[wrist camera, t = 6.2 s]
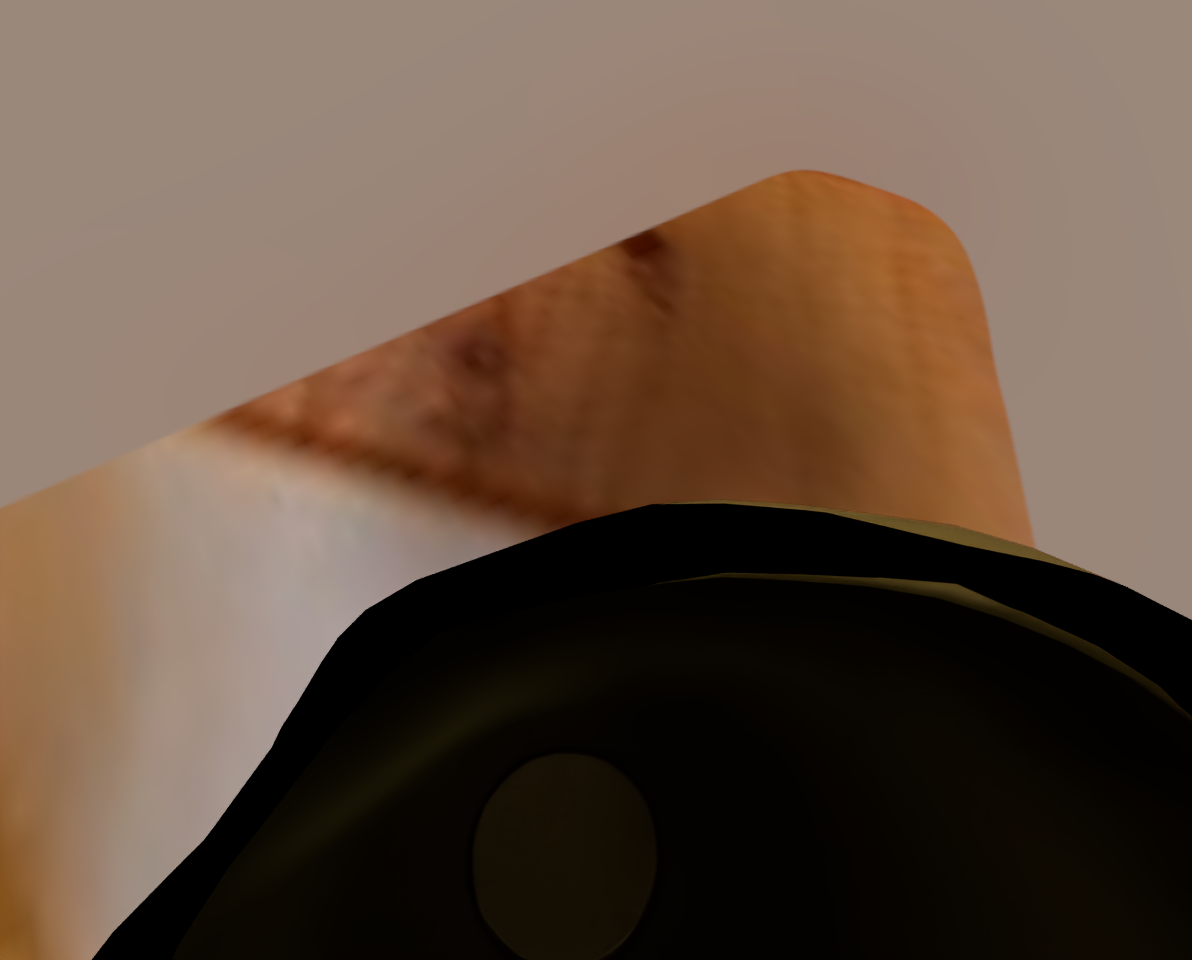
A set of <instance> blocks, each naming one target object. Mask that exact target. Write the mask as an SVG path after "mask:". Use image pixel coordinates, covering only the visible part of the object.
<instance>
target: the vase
mask: <svg viewBox="0 0 1192 960" xmlns="http://www.w3.org/2000/svg"><path fill="white" fill-rule="evenodd" d="M92 960H1192V620H1191V619H1189V618H1187V617H1185V616H1183V615H1181V614H1179V613H1177V612H1175V611H1173V610H1171V609H1169V608H1167V607H1165V606H1163V605H1161V604H1159V603H1157V602H1155V601H1153V600H1151V599H1149V598H1147V597H1145V596H1143V595H1142V594H1140V593H1138V592H1136V591H1134V590H1132V589H1130V588H1128V587H1126V586H1123V585H1121V584H1118V583H1116V582H1114V581H1111V580H1108V579H1106V578H1104V577H1102V576H1099V575H1097V574H1094V573H1092V572H1090V571H1087V570H1085V569H1082V568H1080V567H1078V566H1075V565H1073V564H1070V563H1068V562H1066V561H1063V560H1061V559H1058V558H1056V557H1053V556H1051V555H1049V554H1046V553H1044V552H1041V551H1039V550H1037V549H1034V548H1032V547H1028V546H1025V545H1021V544H1018V543H1015V542H1011V541H1008V540H1004V539H1001V538H998V537H994V536H991V535H987V534H984V533H980V532H977V531H974V530H970V529H967V528H963V527H960V526H956V525H951V524H943V523H936V522H929V521H922V520H914V519H907V518H900V517H893V516H885V515H878V514H870V513H862V512H854V511H846V510H838V509H830V508H823V507H815V506H807V505H799V504H785V503H769V502H753V501H737V500H707V501H692V502H678V503H664V504H651V505H647V506H643V507H639V508H635V509H631V510H627V511H623V512H619V513H615V514H611V515H607V516H603V517H599V518H595V519H591V520H587V521H583V522H579V523H575V524H572V525H569V526H567V527H564V528H561V529H558V530H555V531H553V532H550V533H547V534H544V535H542V536H539V537H536V538H533V539H530V540H527V541H525V542H522V543H519V544H516V545H513V546H510V547H508V548H505V549H502V550H499V551H496V552H493V553H491V554H488V555H485V556H482V557H480V558H477V559H474V560H471V561H468V562H466V563H463V564H460V565H457V566H454V567H452V568H449V569H446V570H443V571H440V572H438V573H435V574H432V575H429V576H426V577H424V578H421V579H418V580H416V581H414V582H412V583H411V584H409V585H407V586H406V587H404V588H402V589H400V590H399V591H397V592H395V593H394V594H392V595H390V596H389V597H387V598H385V599H383V600H382V601H380V602H378V603H377V604H375V605H373V606H371V607H370V608H368V609H366V610H365V611H364V612H363V613H362V614H361V615H360V616H359V617H358V618H357V619H356V620H355V621H354V622H353V623H352V624H351V625H350V626H349V627H348V628H347V629H346V630H345V631H344V632H343V633H342V634H341V635H340V636H339V637H338V638H337V640H336V641H335V643H334V644H333V646H332V647H331V649H330V650H329V652H328V653H327V655H326V656H325V658H324V659H323V661H322V662H321V664H320V665H319V667H318V669H317V670H316V672H315V674H314V676H313V677H312V679H311V681H310V682H309V684H308V686H307V687H306V689H305V691H304V692H303V694H302V696H301V697H300V699H299V701H298V702H297V704H296V705H295V707H294V708H293V710H292V712H291V713H290V715H289V716H288V718H287V719H286V721H285V722H284V724H283V726H282V727H281V729H280V731H279V733H278V735H277V738H276V740H275V742H274V744H273V746H272V748H271V749H270V750H269V752H268V753H267V755H266V756H265V757H264V759H263V760H262V761H261V763H260V764H259V766H258V767H257V768H256V770H255V771H254V772H253V774H252V775H251V777H250V778H249V779H248V781H247V782H246V783H245V785H244V786H243V788H242V789H241V790H240V792H239V793H238V794H237V796H236V797H235V799H234V800H233V801H232V803H231V804H230V805H229V807H228V808H227V810H226V811H225V812H224V814H223V815H222V816H221V818H220V819H219V821H218V822H217V823H216V825H215V826H214V827H213V829H212V830H211V831H210V833H209V834H208V835H207V837H206V838H205V839H204V841H203V842H202V843H201V844H200V845H199V846H197V847H196V848H195V849H194V850H193V851H192V852H191V853H190V854H189V855H188V856H187V857H186V858H185V859H184V860H183V861H182V862H181V863H180V864H179V865H178V866H177V867H176V868H175V869H174V870H173V871H172V872H171V873H170V874H169V875H168V876H167V878H166V879H165V880H164V881H163V882H162V883H161V884H160V885H159V886H158V887H157V888H156V889H155V890H154V891H153V892H152V893H151V894H150V895H149V896H148V897H147V898H146V899H145V900H144V901H143V902H142V903H141V904H140V905H139V906H138V907H137V908H136V909H135V910H134V911H133V912H132V913H131V914H130V915H129V916H128V917H127V918H126V919H125V920H124V921H123V922H122V923H121V924H120V926H119V927H118V928H117V929H116V930H115V931H114V932H113V933H112V934H111V935H110V937H109V938H108V939H107V941H106V942H105V943H104V944H103V946H102V947H101V948H100V950H99V951H98V952H97V954H96V955H95V956H94V957H93V959H92Z"/></svg>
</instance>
